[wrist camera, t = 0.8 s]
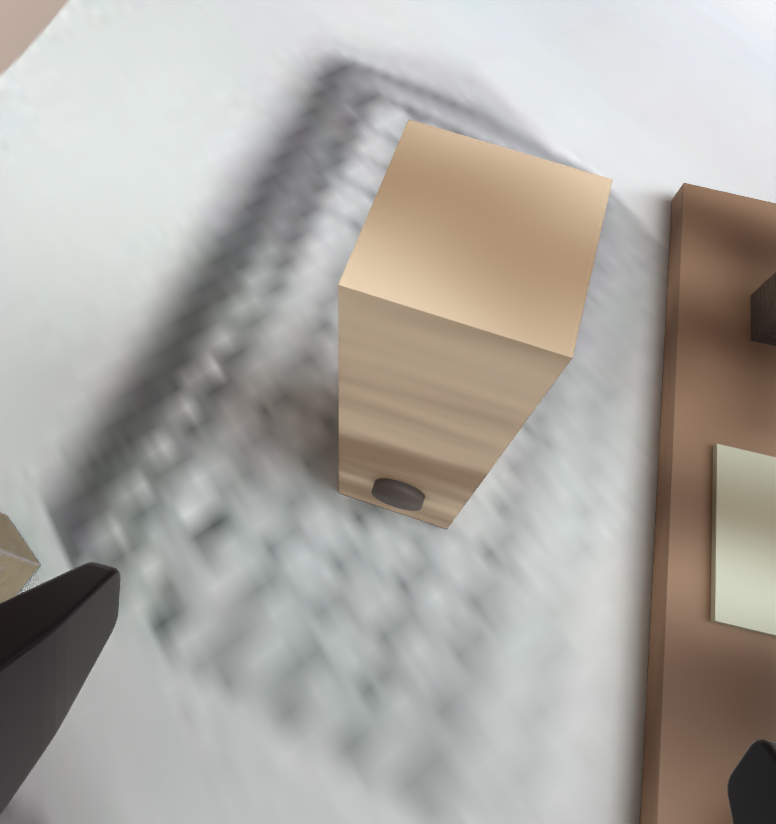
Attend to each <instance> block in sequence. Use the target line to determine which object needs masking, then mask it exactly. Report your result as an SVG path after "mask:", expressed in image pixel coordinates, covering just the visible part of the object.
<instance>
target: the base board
mask: <svg viewBox="0 0 776 824" xmlns="http://www.w3.org/2000/svg"><path fill="white" fill-rule="evenodd" d="M775 272H776V204H775V203H771V202H766V201H762V200H757V199H753V198H749V197H744V196H740V195H735V194H731V193H726V192H722V191H718V190H713V189H709V188H704V187H700V186H695V185H691V184H687V183H684V184H683V185H682V186H681V188H680V189H679V191H678V192H677V194H676V195H675V196H674V198H673V199H672V207H671V226H670V246H669V265H668V285H667V304H666V324H665V343H664V363H663V383H662V402H661V422H660V441H659V461H658V480H657V500H656V520H655V539H654V559H653V578H652V598H651V617H650V637H649V656H648V676H647V696H646V715H645V735H644V754H643V774H642V793H641V813H640V824H733V821H732V816H731V811H730V805H729V800H728V794H727V785H728V780H729V777H730V775H731V773H732V771H733V770H734V768H735V767H736V765H737V764H738V763H739V761H740V760H741V758H742V757H743V755H744V754H745V752H746V751H747V749H748V748H749V746H750V745H751V744H752V743H753V742H754V741H756V740H758V739H766V740H770V741H773V742H776V346H772V345H767V344H763V343H759V342H754V341H751V311H750V295H751V294H752V293H753V292H754V291H756V290H757V289H758V288H759V287H760V286H761V285H762V284H763V283H764V282H765V281H766V280H767V279H768V278H770V277H771V276H772V275H773V274H774V273H775Z"/></svg>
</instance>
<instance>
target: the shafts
mask: <svg viewBox="0 0 776 824" xmlns="http://www.w3.org/2000/svg"><path fill="white" fill-rule="evenodd" d="M750 311H751V341H754V342H759V343H763V344H767V345H772V346H776V272H775V273H774V274H773V275H772V276H771V277H770V278H768V279H767V280H766V281H765V282H764V283H763V284H762V285H761V286H760V287H759V288H758V289H757V290H756V291H754V292H753V293H752V294H751V295H750Z"/></svg>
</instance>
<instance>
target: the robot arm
mask: <svg viewBox="0 0 776 824" xmlns="http://www.w3.org/2000/svg"><path fill="white" fill-rule="evenodd" d="M119 592H120V573H119V571H118V570H117V569H116V568H114V567H110V566H106V565H102V564H98V563H94V562H90V563H86V564H83V565H81V566H79V567H77V568H75V569H73V570H70V571H68V572H66V573H64V574H62V575H60V576H57V577H55V578H53V579H51V580H49V581H47V582H45V583H42V584H40V585H38V586H36V587H34V588H32V589H29V590H27V591H25V592H23V593H21V594H19V595H16V596H14V597H12V598H10V599H8V600H6V601H4V602H1V603H0V815H1V814H2V812H3V811H4V809H5V808H6V806H7V805H8V803H9V802H10V801H11V799H12V798H13V796H14V795H15V793H16V792H17V790H18V789H19V787H20V786H21V785H22V783H23V782H24V780H25V779H26V777H27V776H28V774H29V773H30V771H31V770H32V769H33V767H34V766H35V764H36V763H37V761H38V760H39V758H40V757H41V755H42V754H43V753H44V751H45V750H46V748H47V746H48V745H49V743H50V742H51V740H52V739H53V737H54V736H55V734H56V732H57V731H58V729H59V727H60V725H61V724H62V722H63V720H64V718H65V717H66V715H67V713H68V711H69V709H70V708H71V706H72V704H73V702H74V700H75V699H76V697H77V695H78V693H79V691H80V689H81V688H82V686H83V684H84V682H85V680H86V678H87V677H88V675H89V673H90V671H91V669H92V667H93V666H94V664H95V662H96V660H97V658H98V657H99V655H100V653H101V651H102V649H103V647H104V646H105V644H106V642H107V640H108V638H109V636H110V635H111V633H112V631H113V629H114V626H115V624H116V621H117V617H118V608H119ZM727 794H728V800H729V805H730V811H731V816H732V821H733V824H776V742H773V741H770V740H766V739H758V740H756V741H754V742H753V743H752V744H751V745H750V746H749V748H748V749H747V751H746V752H745V754H744V755H743V757H742V758H741V760H740V761H739V763H738V764H737V765H736V767H735V768H734V770H733V771H732V773H731V775H730V777H729V780H728V785H727Z"/></svg>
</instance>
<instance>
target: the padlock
mask: <svg viewBox="0 0 776 824" xmlns="http://www.w3.org/2000/svg"><path fill="white" fill-rule="evenodd" d="M40 565H41V564H40V563H39V561H38V560H37V558H36V557H35V556H34V554H33V553H32V551H31V550H30V548H29V547H28V545H27V544H26V542H25V541H24V539H23V538H22V536H21V535H20V533H19V532H18V531H17V529H16V528H15V526H14V525H13V523H12V522H11V520H10V519H9V517H8V516H7V515H5V514H3V513H0V603H1V602H4V601H6V600H8V599H10V598H12V597H14V596H16V595H17V594H18V593H19V592H20V590H21V589H22V588H23V587H24V585H25V584H26V583H27V582H28V580H29V579H30V578H31V577H32V575H33V574H34V573H35V572H36V570H37V569H38V568H39V567H40Z"/></svg>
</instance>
